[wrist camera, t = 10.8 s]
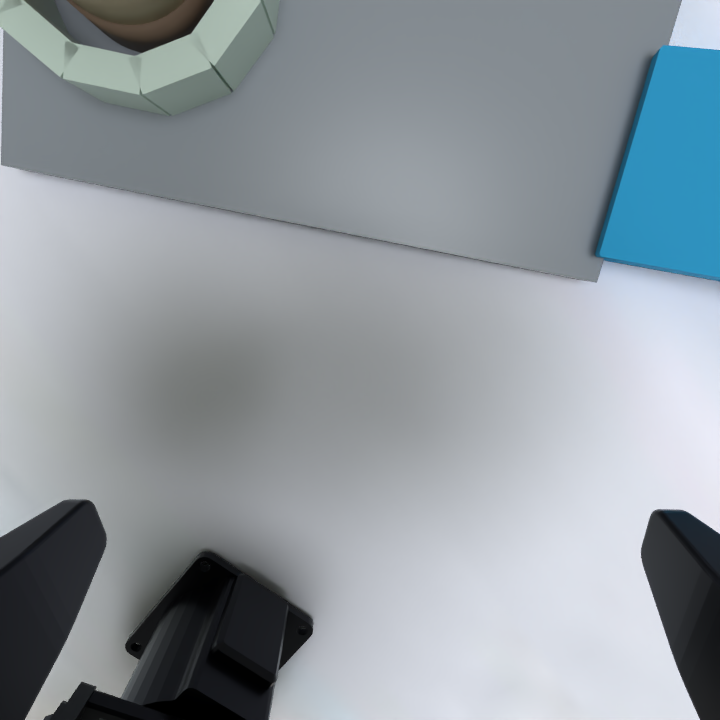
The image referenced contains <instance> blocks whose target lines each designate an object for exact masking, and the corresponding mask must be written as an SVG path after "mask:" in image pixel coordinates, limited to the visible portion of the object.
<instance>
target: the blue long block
mask: <svg viewBox="0 0 720 720" xmlns="http://www.w3.org/2000/svg"><path fill="white" fill-rule="evenodd" d="M595 255H596V257H600V258H604V260H605V261H610V262H616V263H621V264H627V265H632V266H638V267H644V268H649V269H655V270H660V271H666V272H671V273H677V274H683V275H688V276H694V277H699V278H705V279H710V280H716V281H720V50H712V49H701V48H690V47H679V46H668V45H663V46H662V47H661V48H660V49H659V50H658V51H657V53H656V54H655V55H654V56H653V58H652V60H651V64H650V67H649V71H648V74H647V77H646V81H645V84H644V88H643V91H642V94H641V98H640V101H639V105H638V108H637V112H636V115H635V118H634V122H633V125H632V129H631V132H630V136H629V139H628V142H627V146H626V149H625V153H624V156H623V159H622V163H621V166H620V170H619V173H618V177H617V180H616V183H615V187H614V190H613V194H612V197H611V201H610V204H609V207H608V211H607V214H606V218H605V221H604V225H603V228H602V231H601V235H600V238H599V242H598V245H597V248H596V252H595Z"/></svg>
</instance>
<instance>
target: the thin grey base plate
mask: <svg viewBox="0 0 720 720" xmlns="http://www.w3.org/2000/svg"><path fill="white" fill-rule="evenodd" d="M681 1H682V0H214V2H213V3H212V5H211V6H210V8H209V9H208V10H207V12H206V13H205V15H204V16H203V18H202V19H201V20H200V22H199V23H198V25H197V26H196V27H195V29H194V30H193V32H192V33H191V34H190V35H187V36H185V37H182V38H179V39H177V40H174V41H172V42H169V43H167V44H164V45H162V46H159V47H157V48H154V49H151V50H149V51H146V52H144V53H141V52H137V51H134V50H131V49H128V48H126V47H124V46H122V45H120V44H118V43H117V42H115V41H113V40H112V39H111V38H109V37H108V36H107V35H106V34H104V33H103V32H102V31H101V30H100V29H99V28H97V27H96V26H95V25H94V24H93V23H92V22H91V21H89V20H88V19H87V18H86V17H85V16H84V15H83V14H81V13H80V12H79V11H78V10H77V9H76V8H75V7H73V6H72V5H71V4H70V3H69V2H68V1H67V0H0V27H1V28H2V29H4V33H3V89H2V146H1V165H4V166H8V167H13V168H17V169H22V170H27V171H32V172H37V173H42V174H47V175H52V176H57V177H62V178H67V179H72V180H77V181H82V182H87V183H93V184H98V185H103V186H108V187H113V188H118V189H123V190H128V191H133V192H138V193H143V194H148V195H153V196H158V197H163V198H169V199H174V200H179V201H184V202H189V203H194V204H199V205H204V206H209V207H214V208H219V209H224V210H229V211H234V212H239V213H245V214H250V215H255V216H260V217H265V218H270V219H275V220H280V221H285V222H290V223H295V224H300V225H305V226H310V227H315V228H321V229H326V230H331V231H336V232H341V233H346V234H351V235H356V236H361V237H366V238H371V239H376V240H381V241H386V242H391V243H397V244H402V245H407V246H412V247H417V248H422V249H427V250H432V251H437V252H442V253H447V254H452V255H457V256H462V257H467V258H473V259H478V260H483V261H488V262H493V263H498V264H503V265H508V266H513V267H518V268H523V269H528V270H533V271H538V272H543V273H549V274H554V275H559V276H564V277H569V278H574V279H579V280H584V281H591V282H597V280H598V277H599V273H600V270H601V267H602V264H603V260H604V258H600V257H596V255H595V252H596V248H597V245H598V242H599V238H600V235H601V231H602V228H603V225H604V221H605V218H606V214H607V211H608V207H609V204H610V201H611V197H612V194H613V190H614V187H615V183H616V180H617V177H618V173H619V170H620V166H621V163H622V159H623V156H624V153H625V149H626V146H627V142H628V139H629V136H630V132H631V129H632V125H633V122H634V118H635V115H636V112H637V108H638V105H639V101H640V98H641V94H642V91H643V88H644V84H645V81H646V77H647V74H648V71H649V67H650V64H651V60H652V58H653V56H654V55H655V54H656V53H657V51H658V50H659V49H660V48H661V47H662V46H663V45H669V41H670V38H671V35H672V31H673V28H674V25H675V21H676V18H677V15H678V11H679V8H680V5H681Z"/></svg>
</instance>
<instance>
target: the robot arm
mask: <svg viewBox="0 0 720 720" xmlns="http://www.w3.org/2000/svg"><path fill="white" fill-rule="evenodd" d="M106 541H107V537H106V532H105V530H104V527H103V525H102V522H101V520H100V517H99V515H98V512H97V510H96V507H95V505H94V504H93V503H92V502H91V501H89V500H76V499H69V500H64V501H62V502H60V503H58V504H57V505H55V506H53V507H52V508H50V509H48V510H46V511H45V512H43V513H41V514H40V515H38V516H36V517H34V518H33V519H31V520H29V521H28V522H26V523H24V524H22V525H21V526H19V527H17V528H16V529H14V530H12V531H10V532H9V533H7V534H5V535H4V536H2V537H0V720H25V718H26V716H27V714H28V712H29V711H30V709H31V707H32V705H33V703H34V701H35V699H36V697H37V695H38V694H39V692H40V690H41V688H42V686H43V684H44V682H45V680H46V678H47V677H48V675H49V673H50V671H51V669H52V667H53V665H54V663H55V661H56V660H57V658H58V656H59V654H60V652H61V650H62V648H63V646H64V644H65V642H66V640H67V638H68V635H69V633H70V631H71V629H72V627H73V624H74V622H75V620H76V617H77V615H78V613H79V610H80V608H81V605H82V603H83V601H84V598H85V596H86V593H87V591H88V589H89V586H90V584H91V582H92V579H93V577H94V574H95V572H96V570H97V567H98V565H99V562H100V560H101V558H102V555H103V553H104V550H105V547H106ZM641 558H642V563H643V567H644V570H645V573H646V576H647V579H648V582H649V585H650V588H651V591H652V594H653V597H654V600H655V603H656V606H657V609H658V612H659V615H660V618H661V621H662V624H663V627H664V630H665V633H666V636H667V639H668V642H669V645H670V648H671V651H672V654H673V657H674V659H675V662H676V665H677V668H678V670H679V673H680V675H681V677H682V680H683V682H684V685H685V687H686V689H687V692H688V694H689V696H690V698H691V701H692V703H693V705H694V707H695V709H696V712H697V714H698V716H699V718H700V720H720V534H719V533H718V532H716V531H715V530H713V529H712V528H710V527H709V526H707V525H706V524H704V523H703V522H701V521H700V520H699V519H697V518H696V517H694V516H693V515H691V514H690V513H688V512H686V511H683V510H668V509H658V510H655V511H653V513H652V514H651V516H650V519H649V522H648V526H647V529H646V533H645V536H644V540H643V544H642V548H641ZM202 562H207V563H209V564H210V566H206V565H204V564H203V563H202ZM300 626H304V627H306V628H305V629H301V628H299V627H300ZM312 633H313V621H312V619H311V618H310V617H308V616H307V615H305V614H304V613H302V612H301V611H299V610H298V609H296V608H295V607H293V606H292V605H290V604H289V603H287V601H285V600H284V599H282V598H281V597H279V596H278V595H276V594H275V593H273V592H272V591H270V590H269V589H267V588H266V587H264V586H263V585H261V584H260V583H258V582H257V581H255V580H254V579H252V578H251V577H249V576H248V575H246V574H244V573H242V572H241V571H239V570H238V569H236V568H235V567H233V566H232V565H230V564H229V563H227V562H226V561H224V560H223V559H221V558H220V557H218V556H217V555H215V554H214V553H212V552H206V551H205V552H202V553H200V554H199V555H198V556H197V557H196V558H195V559H194V561H193V562H192V563H191V564H190V565H189V567H188V568H187V569H186V570H185V571H184V572H183V574H182V575H181V576H180V577H179V578H178V580H177V581H176V582H175V583H174V584H173V585H172V587H171V588H170V589H169V590H168V591H167V593H166V594H165V595H164V596H163V597H162V598H161V600H160V601H159V602H158V603H157V604H156V606H155V607H154V608H153V609H152V610H151V611H150V613H149V614H148V615H147V616H146V617H145V619H144V620H143V621H142V622H141V623H140V624H139V626H138V627H137V628H136V629H135V630H134V632H133V633H132V634H131V635H130V637H129V639H128V641H127V643H126V645H125V648H126V650H127V652H128V653H129V654H131V655H132V656H134V657H136V658H137V659H139V660H140V661H139V663H138V665H137V667H136V669H135V671H134V673H133V675H132V677H131V679H130V681H129V683H128V685H127V687H126V689H125V691H124V693H123V695H122V697H121V698H118V697H115V696H112V695H109V694H106V693H103V692H100V691H97V690H96V686H93V685H90V684H87V683H84V682H81V683H80V685H79V686H78V688H77V689H76V690H75V692H74V693H73V695H72V696H71V698H70V699H69V700H68V702H66V701H63V702H62V703H61V704H60V706H59V707H58V708H57V710H56V711H55V713H54V714H51V715H48V716H46V717H45V718H44V720H269V717H270V711H271V705H272V699H273V693H274V687H275V682H276V680H277V676H278V670H279V669H280V668H281V667H282V666H283V665H284V664H285V663H286V662H287V661H288V660H289V659H290V658H291V657H292V656H293V655H294V653H295V652H296V651H297V650H298V649H299V648H300V647H301V646H302V645H303V644H304V643H305V642H306V641H307V640H308V639H309V638H310V636H311V635H312ZM136 643H139V644H140V645H139V644H136Z"/></svg>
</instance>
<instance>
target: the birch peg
mask: <svg viewBox="0 0 720 720" xmlns="http://www.w3.org/2000/svg"><path fill="white" fill-rule="evenodd" d="M67 1H68V2H69V3H70V4H71V5H72V6H73V7H75V8H76V9H77V10H78V11H79V12H80V13H81V14H83V15H84V16H85V17H86V18H87V19H88V20H89V21H91V22H92V23H93V24H94V25H95V26H96V27H97V28H99V29H100V30H101V31H102V32H103V33H104V34H106V35H107V36H108V37H109V38H111V39H112V40H113V41H115V42H117V43H118V44H120V45H122V46H124V47H126V48H128V49H131V50H134V51H137V52H141V53H144V52H146V51H149V50H151V49H154V48H157V47H159V46H162V45H164V44H167V43H169V42H172V41H174V40H177V39H179V38H182V37H185V36H187V35H190V34H191V33H192V32H193V30H194V29H195V27H196V26H197V25H198V23H199V22H200V20H201V19H202V18H203V16H204V15H205V13H206V12H207V10H208V9H209V8H210V6H211V5H212V3H213V2H214V0H67Z"/></svg>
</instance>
